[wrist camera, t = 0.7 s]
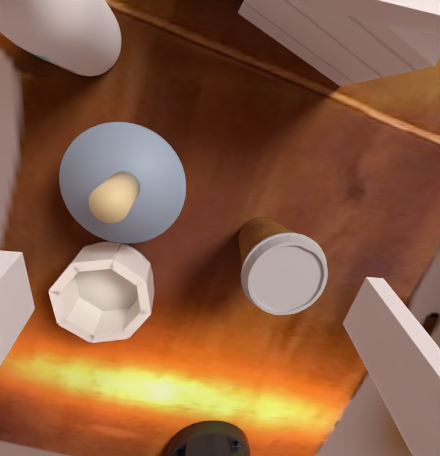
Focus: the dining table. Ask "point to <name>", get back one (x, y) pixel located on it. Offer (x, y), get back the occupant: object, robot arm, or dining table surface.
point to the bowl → (104, 292)
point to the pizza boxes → (353, 34)
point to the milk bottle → (64, 32)
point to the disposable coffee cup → (280, 267)
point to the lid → (122, 182)
